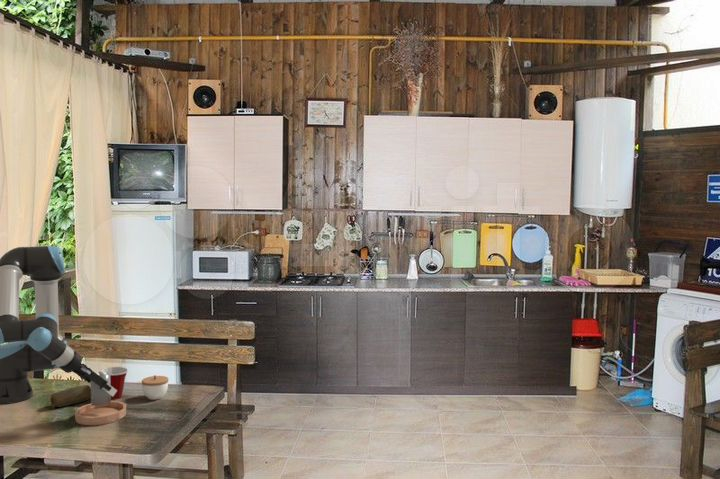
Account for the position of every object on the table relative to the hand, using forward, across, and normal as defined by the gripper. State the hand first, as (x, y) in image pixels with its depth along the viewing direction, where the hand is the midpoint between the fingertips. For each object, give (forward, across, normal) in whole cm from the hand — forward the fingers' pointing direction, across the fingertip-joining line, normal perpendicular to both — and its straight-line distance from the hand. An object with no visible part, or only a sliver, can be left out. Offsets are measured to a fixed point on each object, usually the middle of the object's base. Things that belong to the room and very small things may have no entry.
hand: (109, 391), depth 231 cm
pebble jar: (0, 0, -5) cm, 5 cm away
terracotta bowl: (+4, 0, -9) cm, 10 cm away
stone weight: (+4, -24, -9) cm, 26 cm away
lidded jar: (+23, -4, +10) cm, 25 cm away
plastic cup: (+15, -18, +2) cm, 23 cm away
